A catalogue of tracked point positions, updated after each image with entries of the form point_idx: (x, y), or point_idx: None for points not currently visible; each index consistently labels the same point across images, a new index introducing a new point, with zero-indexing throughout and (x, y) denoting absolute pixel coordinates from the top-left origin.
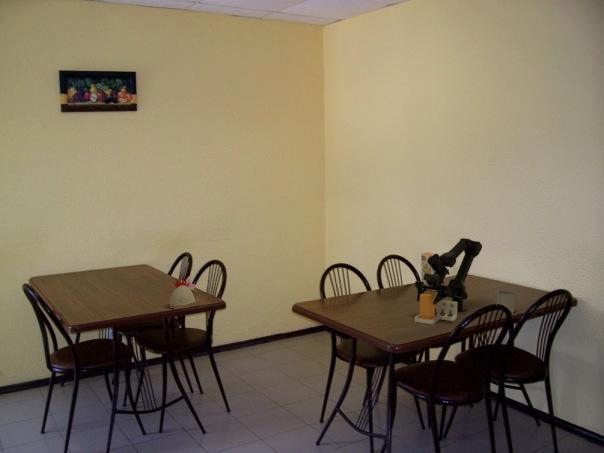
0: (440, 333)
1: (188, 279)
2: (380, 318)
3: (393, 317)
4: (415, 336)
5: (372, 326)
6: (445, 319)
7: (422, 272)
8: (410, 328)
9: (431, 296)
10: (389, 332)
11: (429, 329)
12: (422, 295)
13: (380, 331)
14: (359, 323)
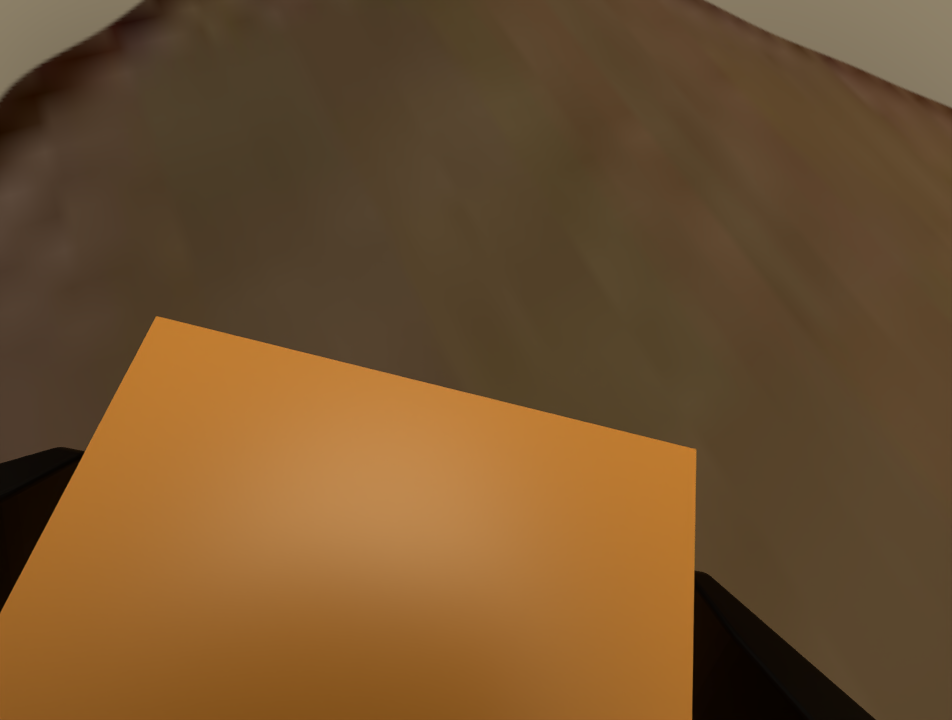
0: (40, 146)
1: None
2: (869, 369)
3: (808, 483)
4: (280, 7)
5: (733, 121)
6: None
7: None
8: (423, 184)
9: (51, 618)
10: (528, 35)
11: (211, 228)
12: (533, 419)
13: (600, 37)
14: (862, 153)
